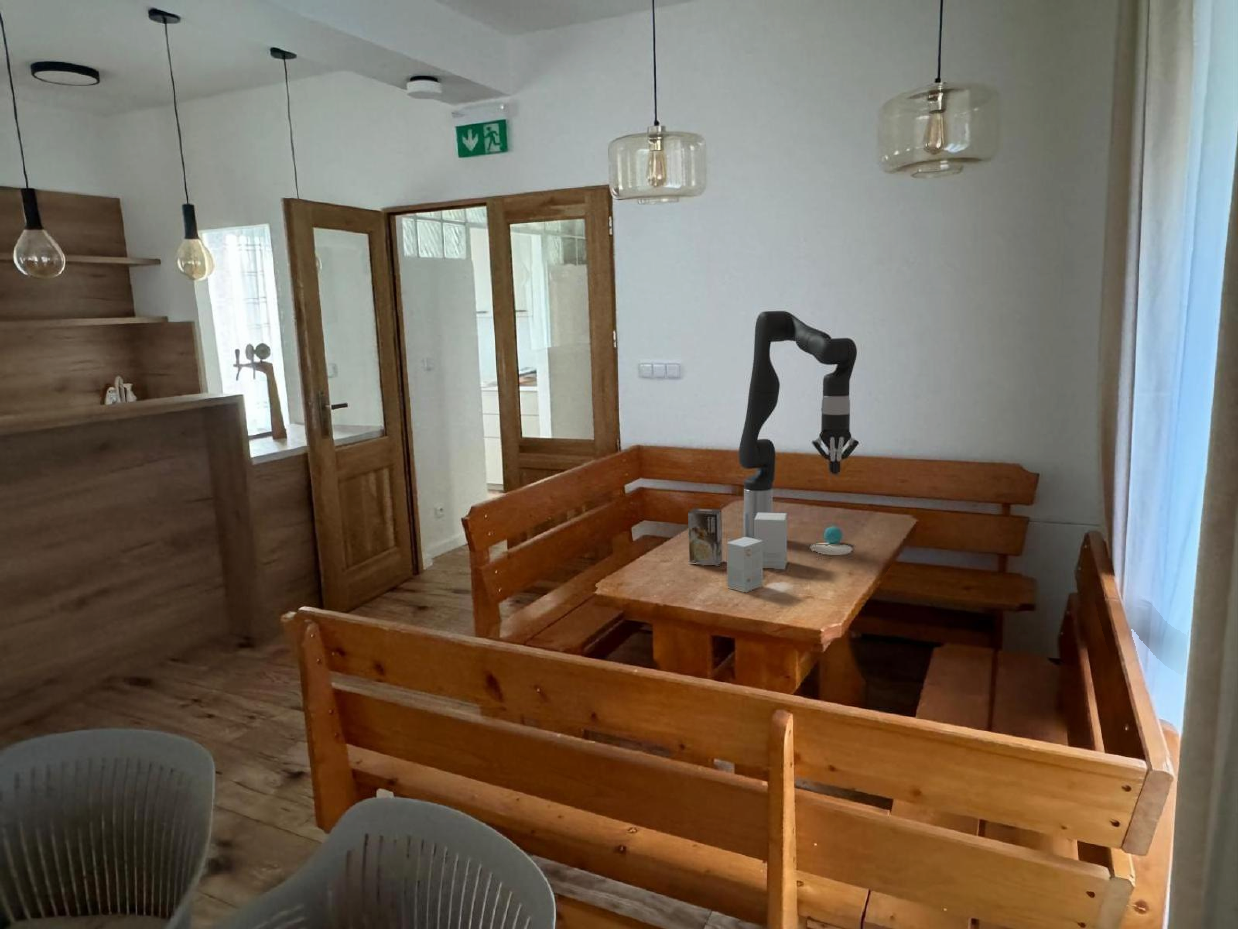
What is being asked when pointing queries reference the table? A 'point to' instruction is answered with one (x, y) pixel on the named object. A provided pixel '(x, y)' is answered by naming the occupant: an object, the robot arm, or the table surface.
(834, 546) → the disc
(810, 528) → the table surface
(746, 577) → the small box
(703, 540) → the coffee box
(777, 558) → the supplement box
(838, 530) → the ball
